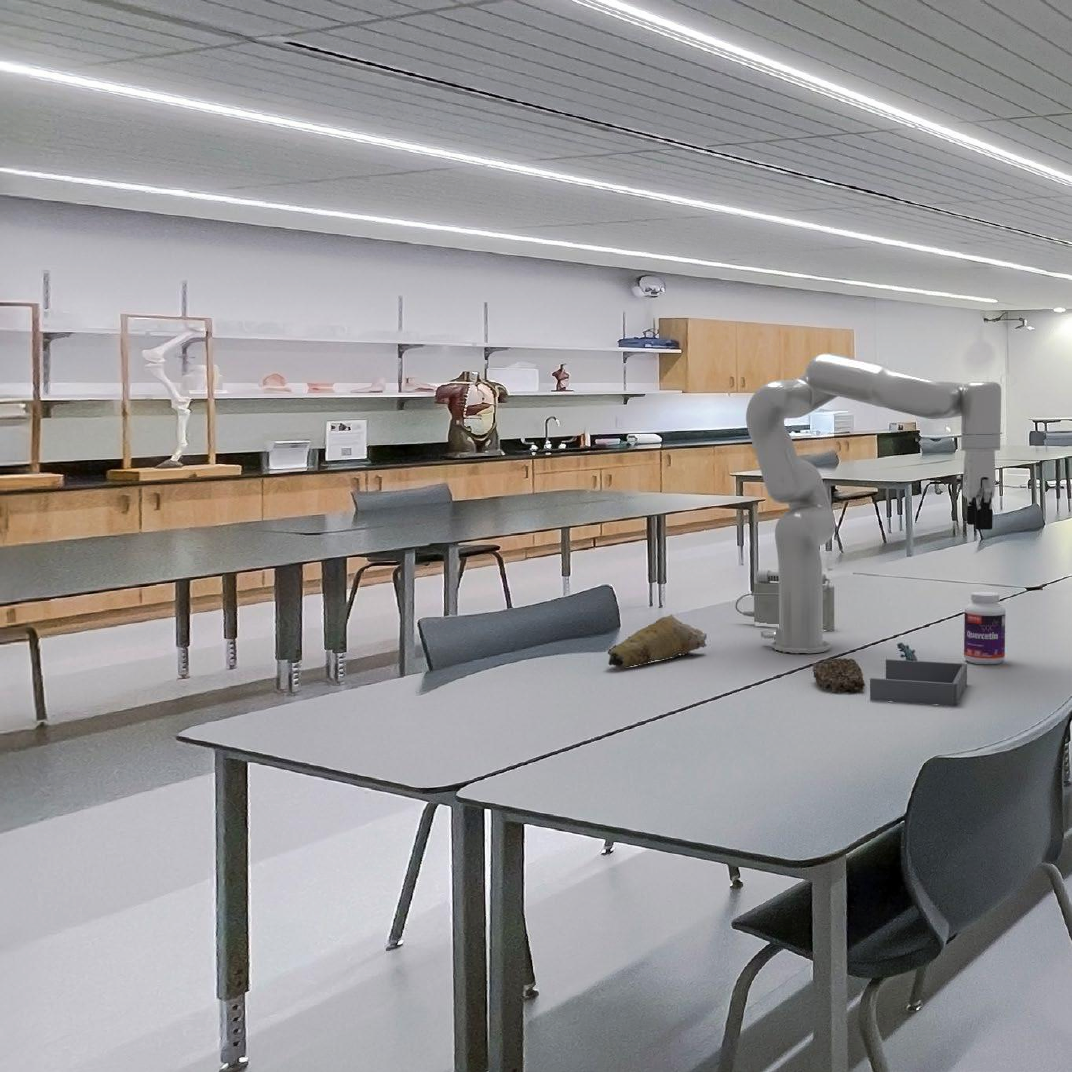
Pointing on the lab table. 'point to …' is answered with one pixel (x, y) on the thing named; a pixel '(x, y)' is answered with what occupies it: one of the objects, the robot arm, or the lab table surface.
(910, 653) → the sculpture
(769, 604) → the geiger counter
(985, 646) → the pill bottle
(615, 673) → the lab table surface
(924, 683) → the tray
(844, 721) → the lab table surface
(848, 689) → the concrete sample
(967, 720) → the lab table surface
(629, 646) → the mineral
